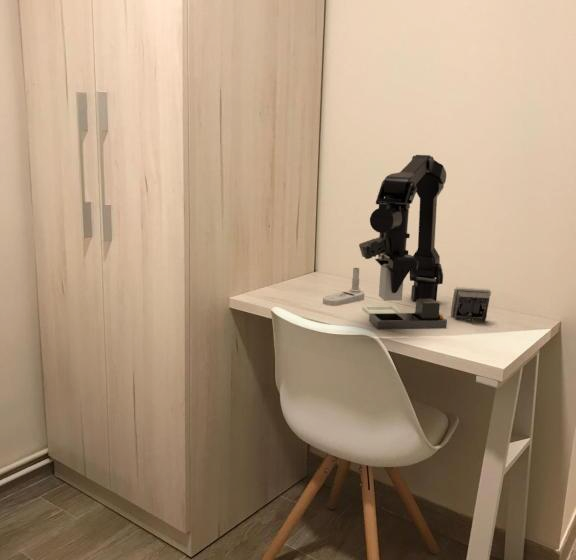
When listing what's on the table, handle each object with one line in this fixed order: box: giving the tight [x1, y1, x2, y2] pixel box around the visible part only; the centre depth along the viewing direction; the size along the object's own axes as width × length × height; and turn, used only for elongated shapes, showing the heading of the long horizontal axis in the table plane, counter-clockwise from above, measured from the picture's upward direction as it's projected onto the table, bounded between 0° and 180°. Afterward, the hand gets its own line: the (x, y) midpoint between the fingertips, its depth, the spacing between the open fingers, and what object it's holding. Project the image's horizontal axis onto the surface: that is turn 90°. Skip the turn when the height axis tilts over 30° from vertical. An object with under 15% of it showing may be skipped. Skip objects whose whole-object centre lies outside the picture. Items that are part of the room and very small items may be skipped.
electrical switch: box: [450, 286, 492, 324], centre depth 163 cm, size 9×5×9 cm, turn 84°
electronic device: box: [322, 267, 365, 307], centre depth 178 cm, size 5×10×15 cm
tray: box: [361, 305, 403, 316], centre depth 167 cm, size 9×8×1 cm
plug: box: [378, 264, 404, 302], centre depth 154 cm, size 4×4×8 cm
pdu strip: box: [368, 299, 448, 330], centre depth 157 cm, size 18×7×7 cm, turn 99°
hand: (390, 290), depth 155 cm, fingers closed on plug, 4 cm apart
